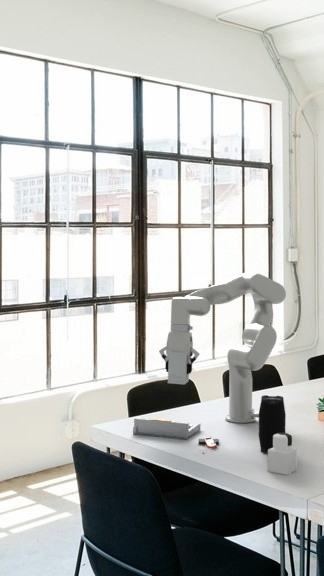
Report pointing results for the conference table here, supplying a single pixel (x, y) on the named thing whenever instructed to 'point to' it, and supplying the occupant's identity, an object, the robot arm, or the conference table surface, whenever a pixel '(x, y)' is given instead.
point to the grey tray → (164, 428)
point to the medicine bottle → (282, 455)
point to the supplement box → (177, 368)
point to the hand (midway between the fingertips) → (178, 372)
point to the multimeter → (209, 442)
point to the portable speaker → (270, 420)
